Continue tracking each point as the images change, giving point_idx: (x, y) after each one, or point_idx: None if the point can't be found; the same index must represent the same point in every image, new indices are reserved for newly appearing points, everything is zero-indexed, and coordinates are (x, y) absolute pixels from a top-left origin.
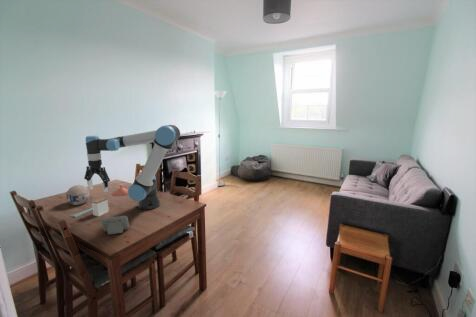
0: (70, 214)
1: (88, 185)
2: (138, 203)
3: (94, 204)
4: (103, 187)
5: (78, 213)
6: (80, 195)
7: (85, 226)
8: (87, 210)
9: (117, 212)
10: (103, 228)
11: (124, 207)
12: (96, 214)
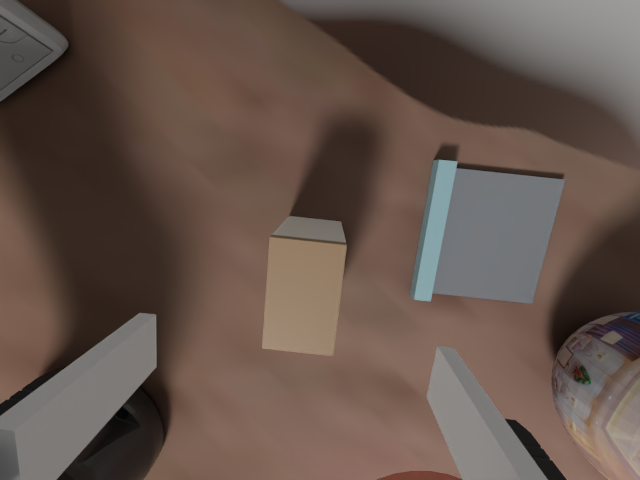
0: (510, 189)
1: (480, 397)
2: (130, 414)
3: (309, 235)
4: (96, 356)
5: (447, 198)
6: (616, 375)
7: (249, 65)
8: (424, 258)
9: (221, 300)
10: (35, 14)
11: (240, 375)
12: (306, 220)
